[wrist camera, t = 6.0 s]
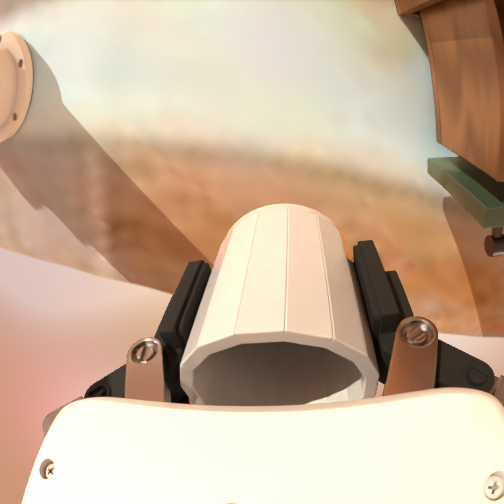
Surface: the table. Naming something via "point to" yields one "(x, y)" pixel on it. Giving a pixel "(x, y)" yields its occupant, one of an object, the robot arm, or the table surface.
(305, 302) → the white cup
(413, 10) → the cabinet
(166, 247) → the table surface
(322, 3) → the table surface
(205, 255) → the table surface
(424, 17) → the drawer
